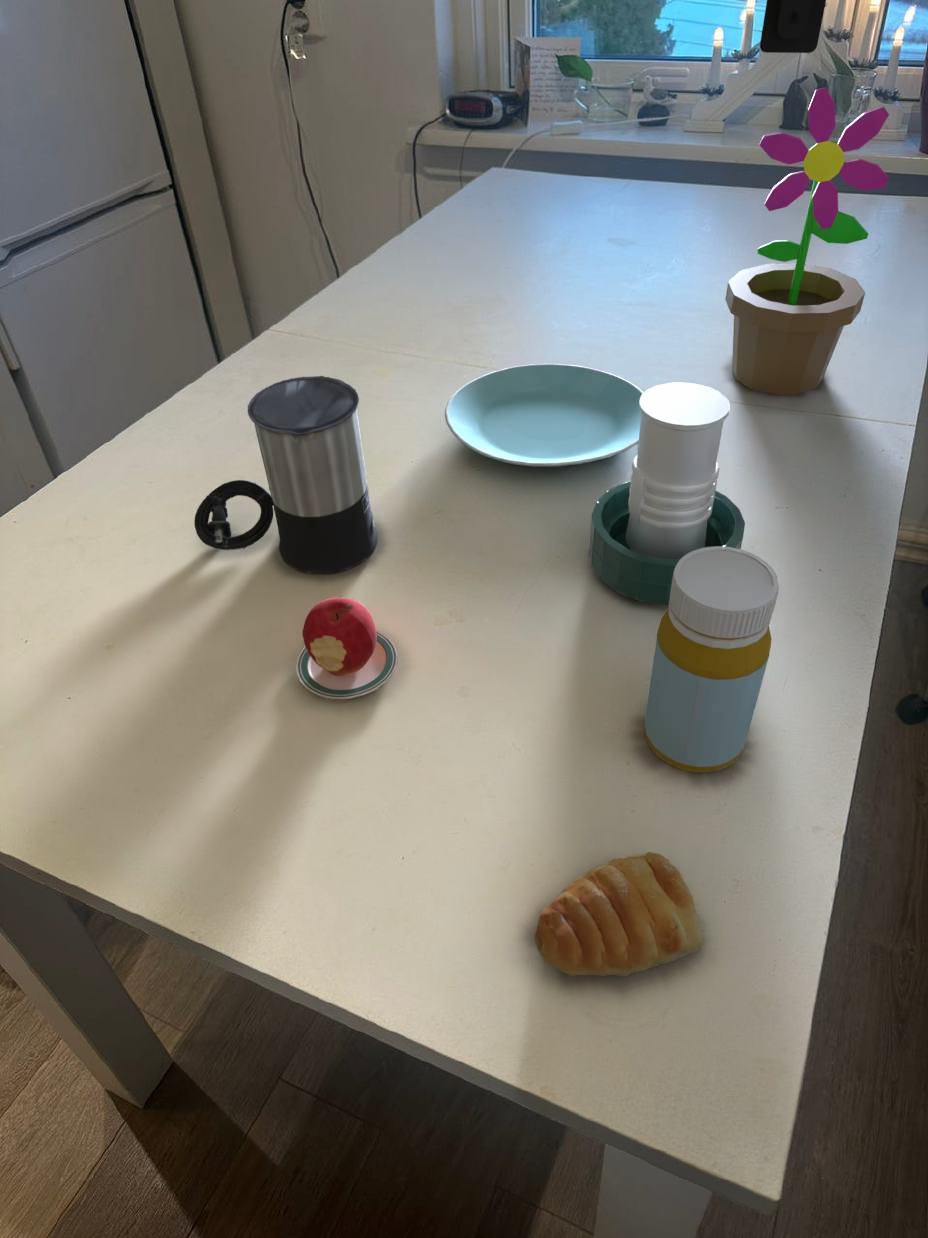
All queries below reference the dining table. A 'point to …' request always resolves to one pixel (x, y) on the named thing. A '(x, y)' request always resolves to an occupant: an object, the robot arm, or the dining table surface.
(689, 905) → the pastry
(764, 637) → the bottle
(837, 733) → the dining table surface
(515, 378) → the plate
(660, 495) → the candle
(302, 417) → the milk frother
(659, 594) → the bowl
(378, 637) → the apple
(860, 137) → the flowerpot
